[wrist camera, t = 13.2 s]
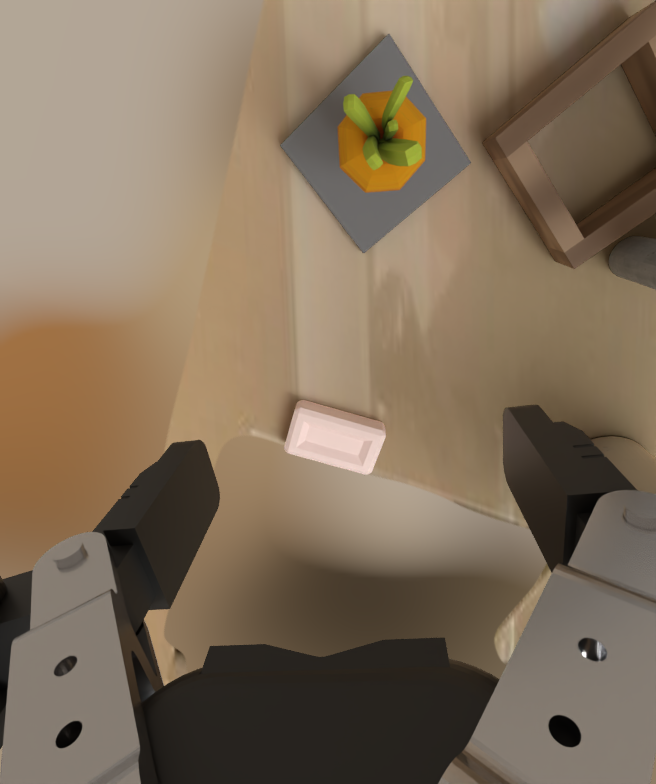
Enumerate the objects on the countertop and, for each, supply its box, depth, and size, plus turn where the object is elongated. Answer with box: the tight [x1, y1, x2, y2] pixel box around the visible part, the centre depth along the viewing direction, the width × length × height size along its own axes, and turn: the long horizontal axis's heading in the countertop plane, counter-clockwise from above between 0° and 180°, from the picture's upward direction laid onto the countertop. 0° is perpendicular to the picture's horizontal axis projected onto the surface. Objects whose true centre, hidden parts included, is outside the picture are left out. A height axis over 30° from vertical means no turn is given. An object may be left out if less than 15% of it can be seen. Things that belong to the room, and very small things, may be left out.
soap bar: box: [284, 400, 386, 475], centre depth 43 cm, size 5×9×2 cm, turn 74°
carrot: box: [338, 76, 426, 193], centre depth 25 cm, size 5×5×15 cm
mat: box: [280, 34, 471, 253], centre depth 32 cm, size 10×10×1 cm
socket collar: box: [483, 1, 656, 269], centre depth 30 cm, size 11×11×4 cm
